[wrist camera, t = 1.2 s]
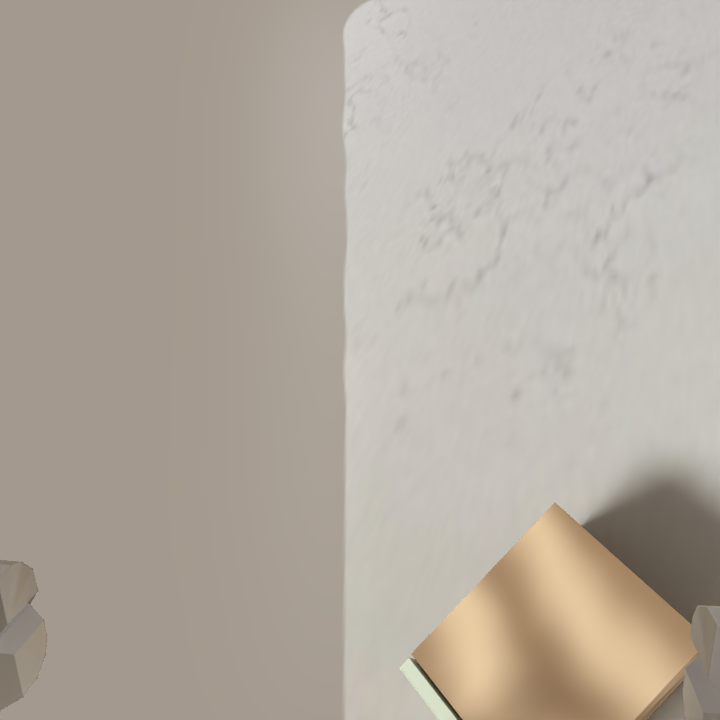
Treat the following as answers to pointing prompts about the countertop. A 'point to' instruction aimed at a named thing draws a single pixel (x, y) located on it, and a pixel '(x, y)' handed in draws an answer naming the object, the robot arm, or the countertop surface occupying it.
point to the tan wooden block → (558, 635)
